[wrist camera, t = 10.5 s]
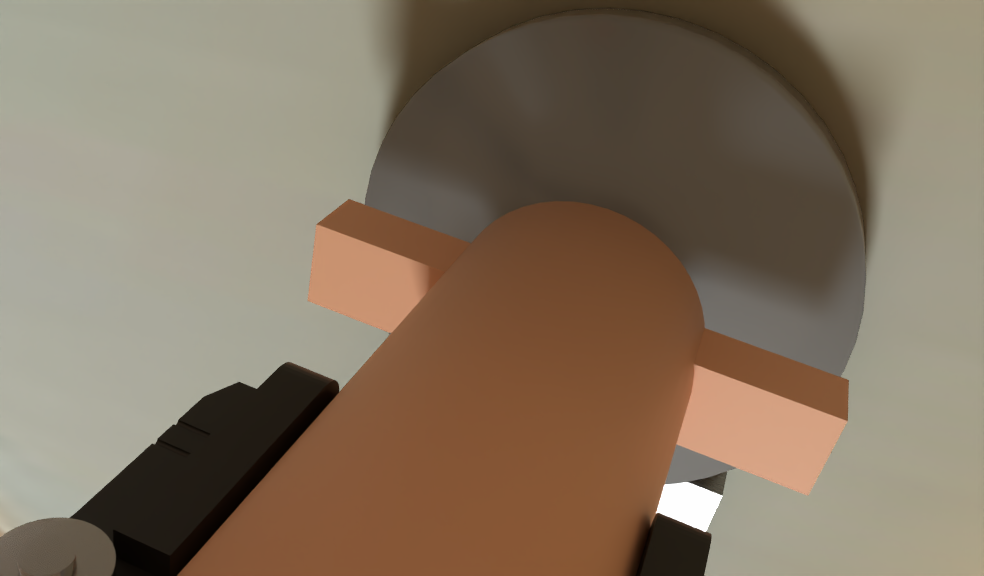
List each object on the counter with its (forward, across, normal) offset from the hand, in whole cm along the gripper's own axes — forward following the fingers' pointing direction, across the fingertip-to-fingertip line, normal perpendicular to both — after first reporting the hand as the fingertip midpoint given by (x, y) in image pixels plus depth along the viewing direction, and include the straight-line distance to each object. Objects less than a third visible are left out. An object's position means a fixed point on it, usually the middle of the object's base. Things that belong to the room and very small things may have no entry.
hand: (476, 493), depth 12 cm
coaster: (+8, 0, 0) cm, 8 cm away
